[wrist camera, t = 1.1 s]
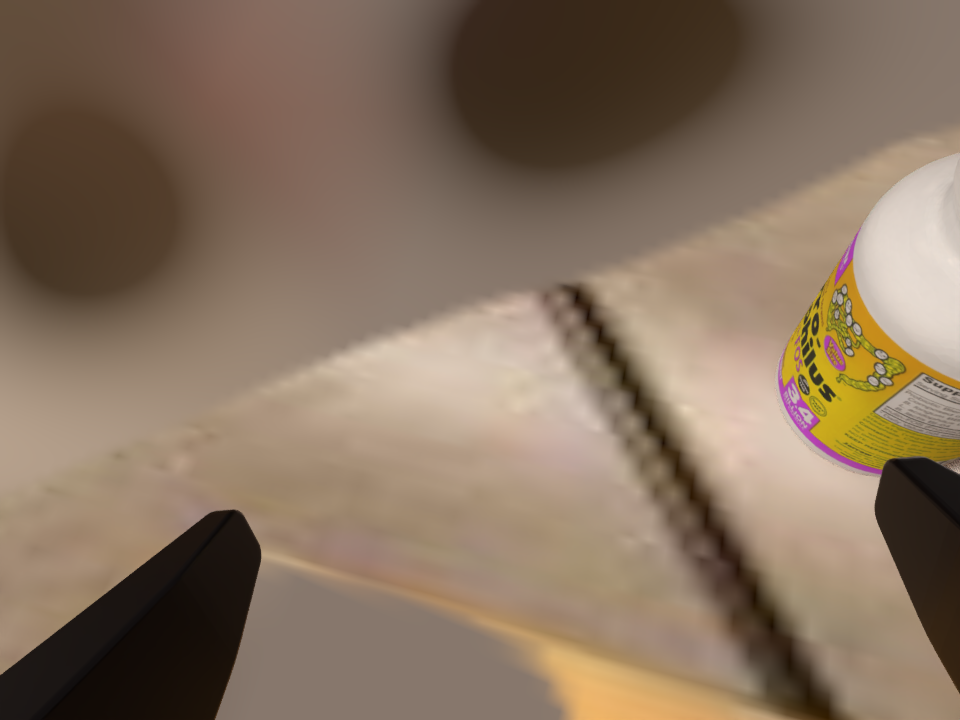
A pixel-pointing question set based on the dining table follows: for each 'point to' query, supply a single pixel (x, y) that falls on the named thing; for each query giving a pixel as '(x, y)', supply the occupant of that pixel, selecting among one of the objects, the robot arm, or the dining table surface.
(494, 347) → the dining table surface
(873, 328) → the supplement bottle
